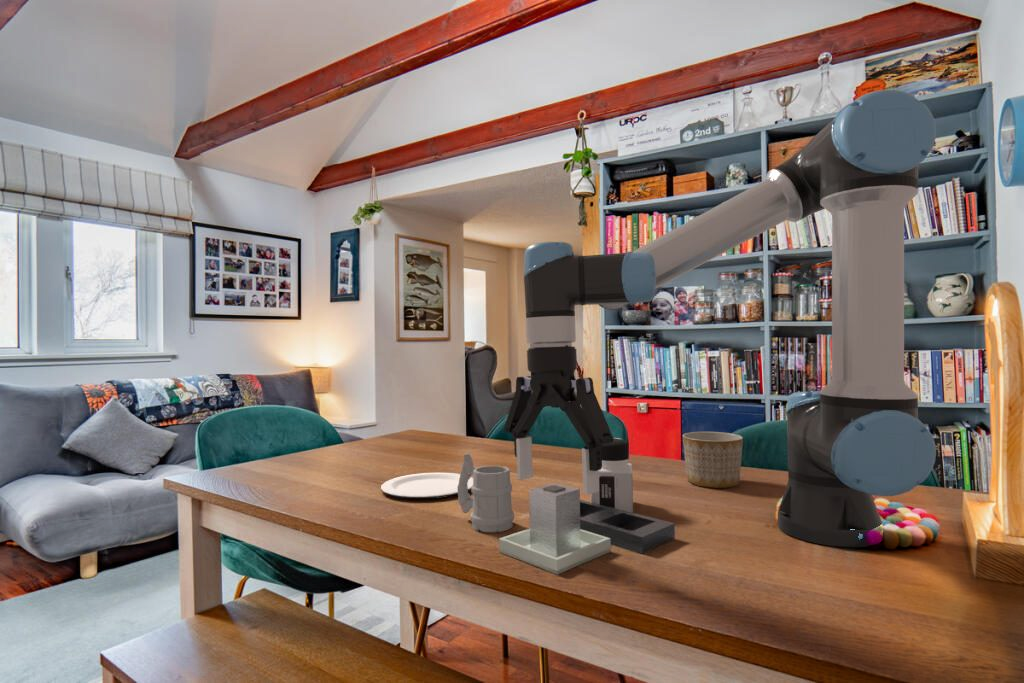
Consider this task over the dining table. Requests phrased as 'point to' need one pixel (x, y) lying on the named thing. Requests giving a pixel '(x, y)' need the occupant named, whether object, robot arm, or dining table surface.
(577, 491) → the tall square peg
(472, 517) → the mug
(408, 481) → the plate
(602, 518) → the peg socket board
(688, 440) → the planter
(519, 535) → the tray
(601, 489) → the container
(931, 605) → the dining table surface
